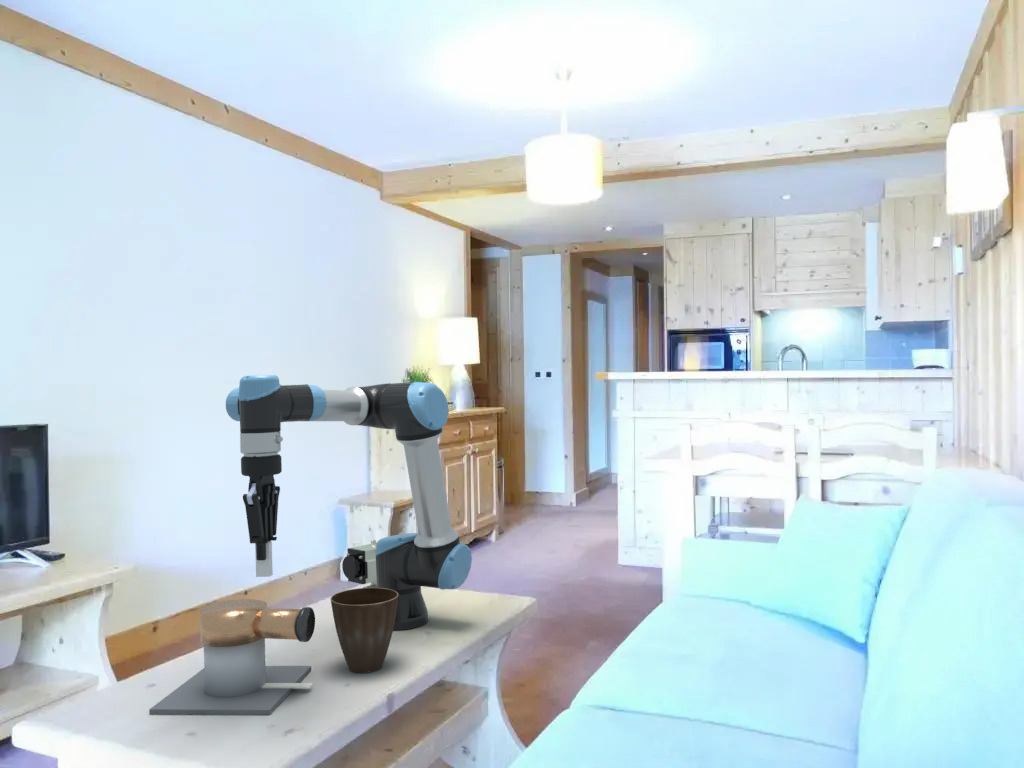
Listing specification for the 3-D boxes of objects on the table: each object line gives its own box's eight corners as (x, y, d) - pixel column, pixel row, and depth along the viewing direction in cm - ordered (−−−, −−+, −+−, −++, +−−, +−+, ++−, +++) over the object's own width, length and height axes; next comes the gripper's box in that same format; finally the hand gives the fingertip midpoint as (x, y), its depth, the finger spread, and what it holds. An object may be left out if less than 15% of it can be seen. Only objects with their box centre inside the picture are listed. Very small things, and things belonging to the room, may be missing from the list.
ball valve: (360, 609, 222) (358, 547, 222) (342, 604, 228) (341, 543, 228) (408, 596, 236) (407, 537, 236) (390, 592, 241) (389, 534, 242)
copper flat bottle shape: (187, 647, 158) (186, 613, 158) (223, 627, 171) (222, 596, 171) (293, 651, 153) (292, 617, 153) (322, 631, 166) (321, 599, 166)
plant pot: (397, 653, 184) (396, 585, 184) (402, 675, 169) (400, 601, 170) (332, 659, 181) (331, 590, 181) (332, 682, 166) (330, 607, 166)
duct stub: (328, 670, 174) (327, 620, 174) (290, 715, 150) (288, 657, 150) (206, 670, 176) (205, 621, 176) (149, 714, 152) (148, 657, 152)
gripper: (267, 456, 145) (270, 584, 145) (291, 451, 158) (295, 567, 158) (227, 457, 146) (231, 584, 146) (255, 452, 159) (258, 568, 159)
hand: (264, 575), depth 152 cm, fingers closed
